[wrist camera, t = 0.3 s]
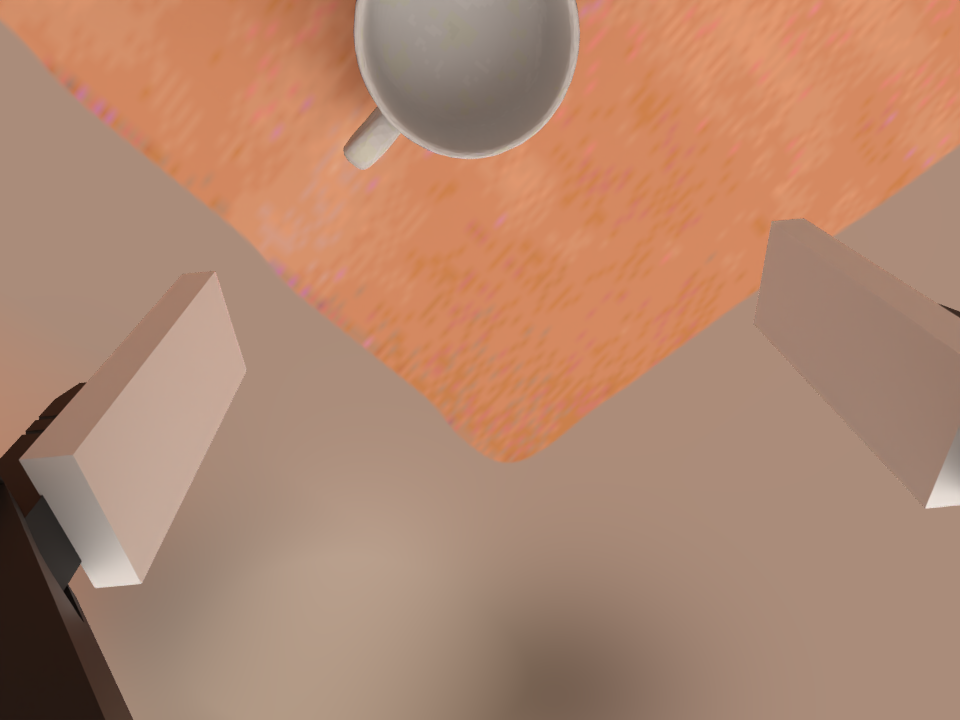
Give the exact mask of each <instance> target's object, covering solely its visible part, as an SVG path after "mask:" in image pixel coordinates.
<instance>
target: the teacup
mask: <svg viewBox="0 0 960 720" xmlns="http://www.w3.org/2000/svg"><path fill="white" fill-rule="evenodd" d="M579 40H580V29H579V18H578V10H577V4H576V1H575V0H356V6H355V18H354V44H355V52H356V57H357V62H358V66H359V70H360V73H361V76H362V78H363V81H364V83H365V85H366V87H367V89H368V91H369V93H370V95H371V97H372V98H373V100H374V101H375V103H376V105H377V108H376V109H375V110H374V111H373V112H372V113H371V115H370V116H369V117H368V118H367V119H366V120H365V122H364V123H363V124H362V125H361V126H360V127H359V128H358V129H357V131H356V132H355V133H354V134H353V135H352V137H351V138H350V139H349V141H348V142H347V143H346V145H345V146H344V155H345V156H346V158H347V160H348V161H349V162H350V163H352V164H353V165H354V166H355V167H357V168H359V169H362V170H364V169H367V168H369V167H370V166H371V165H373V164H374V163H375V162H376V161H377V160H378V159H379V158H380V157H381V156H382V155H383V154H384V153H385V152H386V151H387V149H388V148H389V147H390V146H391V145H392V144H393V142H394V141H395V140H396V139H397V137H398V136H399V135H400V133H402V134H403V135H404V136H405V137H407V138H408V139H410V140H411V141H413V142H414V143H416V144H418V145H420V146H421V147H423V148H425V149H427V150H429V151H431V152H434V153H436V154H440V155H445V156H448V157H451V158H462V159H477V158H485V157H491V156H494V155H498V154H501V153H503V152H505V151H508V150H510V149H512V148H514V147H516V146H518V145H520V144H522V143H524V142H525V141H526V140H528V139H529V138H531V137H532V136H533V135H535V134H536V133H537V132H538V131H539V130H540V129H541V128H542V127H543V126H544V125H545V124H546V123H547V122H548V121H549V120H550V118H551V117H552V116H553V114H554V113H555V111H556V110H557V108H558V107H559V105H560V104H561V102H562V100H563V99H564V97H565V95H566V92H567V90H568V88H569V85H570V83H571V81H572V78H573V74H574V71H575V67H576V62H577V57H578V52H579Z"/></svg>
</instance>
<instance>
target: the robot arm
mask: <svg viewBox="0 0 960 720" xmlns="http://www.w3.org/2000/svg"><path fill="white" fill-rule="evenodd" d="M754 325H755V326H756V328H757V329H758V330H759V331H760V332H761V333H762V334H763V335H764V336H765V337H766V338H767V339H768V340H769V342H770V343H771V344H772V345H773V346H774V347H775V348H776V349H777V350H778V351H779V352H780V353H781V354H782V355H783V356H784V358H785V359H786V360H787V361H788V362H789V363H790V364H791V365H792V366H793V367H794V368H795V369H796V370H797V372H798V373H799V374H800V375H801V376H802V377H803V378H804V379H805V380H806V381H807V382H808V383H809V384H810V385H811V387H812V388H813V389H814V390H815V391H816V392H817V393H818V394H819V395H820V396H821V397H822V398H823V399H824V401H825V402H826V403H827V404H828V405H829V406H830V407H831V408H832V409H833V410H834V411H835V412H836V413H837V414H838V415H839V416H840V418H841V419H842V420H843V421H844V422H845V423H846V424H847V425H848V426H849V427H850V428H851V429H852V430H853V432H854V433H855V434H856V435H857V436H858V437H859V438H860V439H861V440H862V441H863V442H864V443H865V445H866V446H867V447H868V448H869V449H870V450H871V451H872V452H873V453H874V454H875V455H876V456H877V457H878V458H879V460H880V461H881V462H882V463H883V464H884V465H885V466H886V467H887V468H888V469H889V470H890V471H891V472H892V473H893V475H894V476H895V477H896V478H897V479H898V480H899V481H900V482H901V483H902V484H903V485H904V486H905V487H906V489H908V491H909V492H910V493H911V494H912V495H913V496H914V497H915V498H916V499H917V500H918V501H919V502H920V503H921V504H922V506H923V507H924V508H935V507H945V506H955V505H960V312H959V311H957V310H954V309H951V308H948V307H946V306H943V305H940V304H937V303H936V302H934V301H933V300H931V299H929V298H928V297H926V296H925V295H923V294H922V293H920V292H918V291H917V290H915V289H914V288H912V287H911V286H909V285H907V284H906V283H904V282H903V281H901V280H900V279H898V278H896V277H895V276H893V275H892V274H890V273H889V272H887V271H885V270H884V269H882V268H881V267H879V266H878V265H876V264H874V263H873V262H871V261H870V260H868V259H867V258H865V257H863V256H862V255H860V254H859V253H857V252H856V251H854V250H852V249H851V248H849V247H848V246H846V245H845V244H843V243H841V242H840V241H838V240H837V239H835V238H834V237H832V236H831V235H829V234H827V233H826V232H824V231H823V230H821V229H820V228H818V227H816V226H815V225H813V224H812V223H810V222H809V221H807V220H805V219H804V218H803V219H791V220H780V221H772V222H771V228H770V233H769V239H768V245H767V250H766V256H765V261H764V267H763V273H762V278H761V284H760V289H759V295H758V301H757V306H756V312H755V318H754ZM246 371H247V370H246V366H245V363H244V360H243V357H242V354H241V351H240V348H239V344H238V341H237V338H236V335H235V332H234V328H233V325H232V322H231V319H230V316H229V313H228V309H227V306H226V303H225V300H224V297H223V294H222V291H221V287H220V284H219V281H218V278H217V275H216V272H215V271H210V272H200V273H188V274H182V275H181V276H180V277H179V278H178V280H177V281H176V282H175V283H174V284H173V285H172V286H171V288H170V289H169V290H168V291H167V292H166V293H165V294H164V295H163V297H162V298H161V299H160V300H159V301H158V302H157V303H156V305H155V306H154V307H153V308H152V309H151V310H150V311H149V313H148V314H147V315H146V316H145V317H144V318H143V319H142V320H141V322H140V323H139V324H138V325H137V326H136V327H135V329H134V330H133V331H132V332H131V333H130V334H129V335H128V336H127V338H126V339H125V340H124V341H123V342H122V343H121V344H120V345H119V347H118V348H117V349H116V350H115V351H114V352H113V353H112V355H111V356H110V357H109V358H108V359H107V360H106V361H105V362H104V364H103V365H102V366H101V367H100V368H99V369H98V370H97V372H96V373H95V374H94V375H93V376H92V377H91V378H90V379H89V381H88V382H86V383H79V384H78V385H76V386H75V387H73V388H72V389H70V390H68V391H67V392H65V393H64V394H62V395H61V396H59V397H58V398H56V399H55V400H54V401H53V402H52V403H51V404H50V405H49V406H48V407H47V408H46V410H45V411H44V412H43V413H42V414H41V415H40V416H39V420H35V421H34V423H33V424H32V425H31V426H30V427H29V428H28V429H27V430H26V435H22V436H21V437H20V438H19V439H18V440H17V441H16V442H15V443H14V444H13V445H12V446H11V447H10V449H9V450H8V451H7V452H6V453H5V454H4V455H3V456H2V457H1V458H0V720H133V718H132V716H131V714H130V712H129V710H128V707H127V705H126V703H125V701H124V699H123V697H122V695H121V692H120V690H119V688H118V686H117V684H116V682H115V680H114V678H113V675H112V673H111V671H110V669H109V667H108V665H107V662H106V660H105V658H104V656H103V654H102V652H101V650H100V648H99V645H98V643H97V641H96V639H95V637H94V634H93V632H92V630H91V628H90V626H89V624H88V622H87V619H86V617H85V615H84V613H83V611H82V609H81V607H80V604H79V602H78V600H77V598H76V596H75V595H74V593H73V592H72V590H71V588H70V587H69V585H68V583H69V581H70V580H71V578H72V576H73V575H74V573H75V572H76V570H77V568H78V567H79V565H80V564H81V565H82V567H83V569H84V570H85V572H86V574H87V575H88V577H89V579H90V580H91V582H92V584H93V586H94V587H95V588H102V587H112V586H122V585H133V584H142V582H143V580H144V578H145V576H146V574H147V572H148V570H149V567H150V565H151V563H152V562H153V560H154V558H155V555H156V553H157V551H158V549H159V547H160V545H161V543H162V541H163V539H164V537H165V535H166V533H167V531H168V529H169V527H170V525H171V523H172V521H173V519H174V517H175V515H176V513H177V511H178V509H179V507H180V505H181V503H182V501H183V499H184V497H185V494H186V493H187V491H188V489H189V487H190V484H191V483H192V480H193V478H194V476H195V474H196V472H197V470H198V468H199V466H200V464H201V462H202V460H203V458H204V456H205V454H206V452H207V450H208V448H209V446H210V444H211V442H212V440H213V438H214V436H215V434H216V432H217V430H218V427H219V426H220V424H221V422H222V420H223V418H224V416H225V414H226V412H227V410H228V407H229V406H230V404H231V401H232V399H233V397H234V395H235V393H236V391H237V389H238V387H239V385H240V383H241V381H242V379H243V377H244V375H245V373H246Z"/></svg>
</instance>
